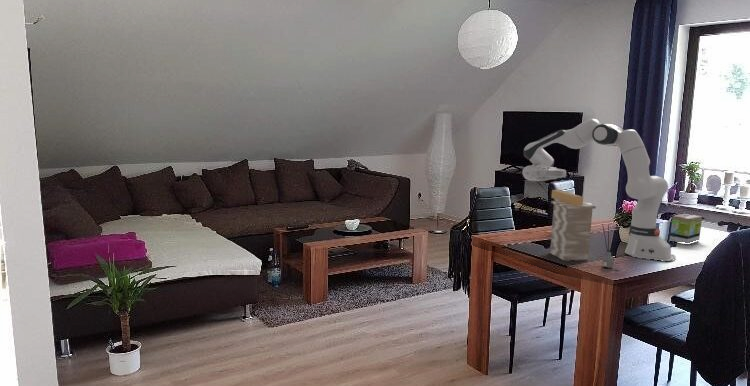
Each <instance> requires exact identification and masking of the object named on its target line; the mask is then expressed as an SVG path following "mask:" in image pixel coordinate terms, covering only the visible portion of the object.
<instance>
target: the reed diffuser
mask: <svg viewBox="0 0 750 386" xmlns="http://www.w3.org/2000/svg"><path fill="white" fill-rule="evenodd" d="M601 226H602V229H603V230H602V231H603V236H604V241H605V245H606V247H605V248H606V255H603V257H602V261H601V262H602V263H601V265H602V267H605V268H610V269H611V268H615V269H616V270H615V269H614V270H615V271H617V270H618V271H620V270H621V267H620V266H619V265H615V264H614V263H615V259H614V257H613V256H612V249H613V246H614V244H615V241H616V239H617V237H618V233H619V231H620V229H621V226H620V227H619V228H618V227H617V226H618V225H617V226H615V231H614V235H613V238H612V241H611V243H610V223H608V226H607V227H608V228H607V229H608V232H607V233H608V235H607V236H608V238H607V239H606V233H605V228H604V224H603V223H602V224H601ZM617 229H618V230H617ZM607 240H608V241H607ZM609 243H610V244H609ZM609 246H610V249H609ZM614 265H615V266H614Z"/></svg>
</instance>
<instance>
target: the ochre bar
mask: <svg viewBox="0 0 750 386" xmlns="http://www.w3.org/2000/svg"><path fill="white" fill-rule="evenodd" d="M550 197H551V199H554V200H556V201H563V202H566V203H569V204H572V205H583V202H584V196H581V195H578V194H574V193H571V192H568V191H564V190H560V189H552V190H551V196H550Z"/></svg>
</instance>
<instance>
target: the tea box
mask: <svg viewBox="0 0 750 386" xmlns="http://www.w3.org/2000/svg"><path fill="white" fill-rule="evenodd" d="M702 221H703V216H702V215H695V214H689V213H681V214H676V215H672V219H671V227H670V236H669V242H670V241H676V242H685V243H690V242H693V241H696V240H699V241H700V237H701V229H702Z"/></svg>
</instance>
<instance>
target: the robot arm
mask: <svg viewBox="0 0 750 386" xmlns="http://www.w3.org/2000/svg"><path fill="white" fill-rule="evenodd" d="M593 141H594V142H595V143H597V144H599V145H601V146H602V145H603V146H606V147H618V148H619V151H620V155H621V156H622V159H623V162H624V165H625V167H626V172H627V183H626V185H625V192H626V195H627V196H628V197H629V198H631V199H635V200H637V202H636V204H635V205H634V207H633V208H632V211H631V213H632V220H631V224H629V225H630V226H629V227H628V228H629V229H628V235H629V237H628V241H627V244H626V248H625V251H624V253H625V254H627V255H629V256H632V257H633V258H635V257H637V259H642V258H646V259H645V260H650V259H654V260H653V261H657V260H663V261H662V262H665V261H671V260H673V259H675V258H676V255H675V254H672V249H671V245H670V243H668V242H667V241H666V240H664V238H662V236H661V235H660V234H661V229H659V228H658V227H657V228H658V229H657V228H656V226H657V219H658V218H657V217H658V211H659V209H660V206H661V203H662V200H663V197H664V196H665V194H666V193H667V192H668V189H669V185H668V182H667V180H666V179H665V178H664V177H662V176H657V175H651V174H650V165H651V159H650V157H649V155H648V152H647V149H646V146H645V144H644V141H643V140H642V138H641V136H640V134H639V133H638V132H637V130H636V129H631V128H630V129H628V128H627V129H625V128H623V127H621V126H620V125H615V124H613V123H601V122H600V121H599V120H598V119H596V118H590V119H587V120H584V121H583V122H581V123H580V124H578V125H576V126H574V127H573V128H571V129H559V130H557V131H553V132H552V133H550V134H548V135H546V136H544V137H542V138H540V139H537V140H534V141H531V142H529V143H528V144H526V145H525V147H524V148H523V157H524V158H526V159H527V160H529V162H530V163H532V164H531V165H527V166H525V167H523V168H522V176H523V178H524V179H525V180H527V181H531V182H546V181H550V180H557V179H559V178H561V179H562V178H566V176H567V170H566V169H562V168H557V167H556V166H555V167H554V164H555V159H554V158H553V156H552V155H550V154H549V153H548V152H547V151H546V150H545V149H544V148H546V147H547V146H550V145H552V144H555V143H556V144H557V143H558V144H560V145H563V146H566V147H567V148H569V149H574V150H577V149H578V150H579V149H583V147H585V146H587V145H588V144H590V143H591V142H593ZM675 260H676V259H675ZM671 262H672V261H671Z"/></svg>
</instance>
